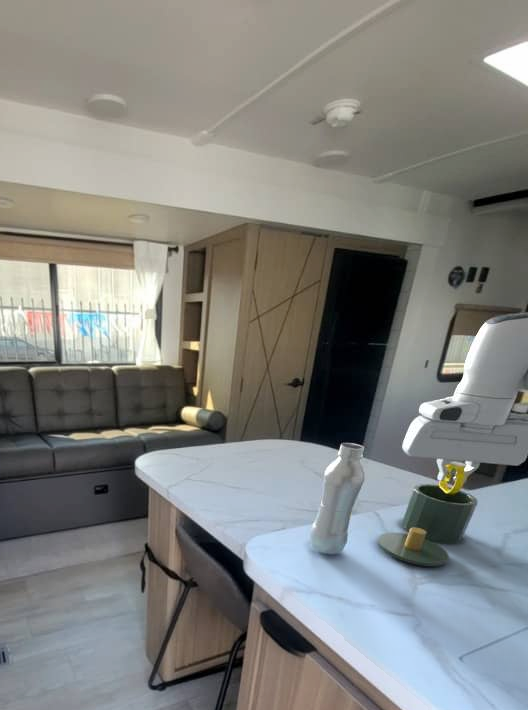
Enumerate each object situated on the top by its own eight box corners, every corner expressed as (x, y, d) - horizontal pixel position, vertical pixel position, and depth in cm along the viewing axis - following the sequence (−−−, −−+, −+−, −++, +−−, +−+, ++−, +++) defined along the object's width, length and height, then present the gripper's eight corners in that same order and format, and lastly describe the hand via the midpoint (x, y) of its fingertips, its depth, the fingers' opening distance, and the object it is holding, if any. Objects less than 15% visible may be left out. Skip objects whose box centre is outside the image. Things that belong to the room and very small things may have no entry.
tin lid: (429, 541, 81) (438, 520, 78) (458, 573, 70) (469, 550, 68) (368, 534, 82) (375, 513, 80) (388, 564, 72) (396, 541, 70)
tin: (446, 522, 89) (460, 487, 85) (471, 546, 79) (489, 507, 76) (394, 517, 90) (406, 482, 87) (413, 539, 81) (427, 501, 77)
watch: (432, 485, 84) (442, 458, 81) (447, 486, 83) (457, 459, 81) (446, 496, 78) (457, 467, 76) (461, 498, 78) (473, 469, 75)
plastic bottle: (308, 555, 74) (335, 449, 65) (304, 538, 80) (328, 439, 71) (346, 561, 72) (379, 453, 64) (339, 543, 78) (368, 442, 70)
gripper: (530, 411, 75) (499, 481, 81) (411, 403, 78) (390, 470, 84) (554, 418, 70) (519, 492, 76) (425, 409, 73) (401, 481, 79)
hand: (450, 481), depth 80 cm, fingers closed on watch
